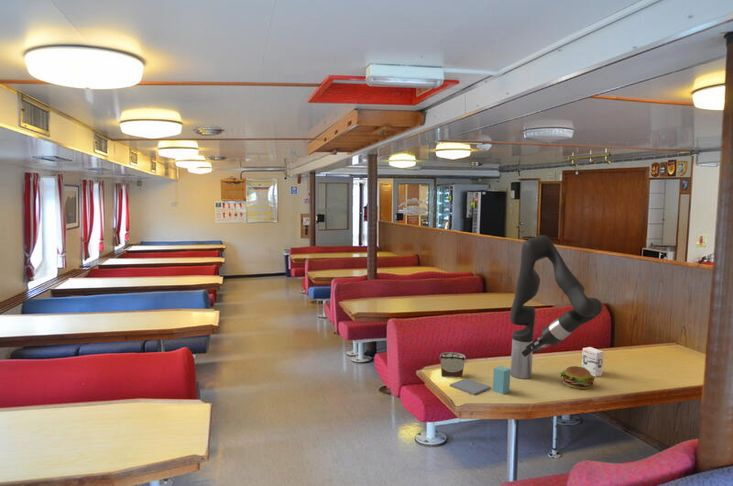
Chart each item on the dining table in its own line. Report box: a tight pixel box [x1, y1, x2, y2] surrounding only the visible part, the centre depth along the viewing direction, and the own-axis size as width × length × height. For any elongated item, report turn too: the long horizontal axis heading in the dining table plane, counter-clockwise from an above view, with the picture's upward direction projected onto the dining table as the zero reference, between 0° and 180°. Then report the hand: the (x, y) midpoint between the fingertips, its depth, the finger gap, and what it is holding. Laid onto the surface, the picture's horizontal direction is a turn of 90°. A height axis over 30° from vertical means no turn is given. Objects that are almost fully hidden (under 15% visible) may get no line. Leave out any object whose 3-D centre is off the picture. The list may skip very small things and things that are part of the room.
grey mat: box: [449, 377, 492, 396], centre depth 221 cm, size 12×13×1 cm
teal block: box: [492, 365, 511, 395], centre depth 218 cm, size 5×5×10 cm
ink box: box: [580, 346, 604, 378], centre depth 243 cm, size 9×5×12 cm, turn 26°
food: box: [559, 365, 596, 390], centre depth 228 cm, size 14×14×8 cm
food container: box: [438, 351, 467, 379], centre depth 236 cm, size 12×6×10 cm, turn 84°
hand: (528, 352), depth 207 cm, fingers open, 8 cm apart
